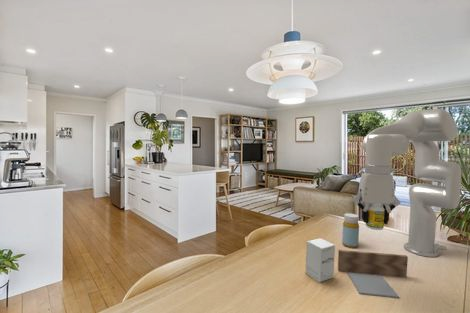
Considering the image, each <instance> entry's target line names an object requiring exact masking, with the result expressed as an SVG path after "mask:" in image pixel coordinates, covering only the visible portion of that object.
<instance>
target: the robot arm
mask: <svg viewBox="0 0 470 313" xmlns="http://www.w3.org/2000/svg"><path fill="white" fill-rule="evenodd" d="M458 131H459V130H458V125H457V123H456V121H455V120H454V118H453V117H452V115H451V114H450V113H449V112H448V111H447V110H445V109H443V108H429V109H421V110H420V109H419V110H413V111H410V112H408V113H407V114H406V115H404V116H403V117H402V118H400V119H399V120H398V121H395V122H392V123H389V124H386V125H382V126H380V127H377V128H375V129H373V130H371V131H370V132H369V133H367V134H366V136H365V137H364V138H363V140H362V144H361V146H362V150H363V151H364V152H365V160H364V161H365V165H364V172H363V173H361V176H360V180H359V186H358V191H357V194H356V195H355V196H354V197H352V201H351V202H354V204H356V205H357V206H358V208H360V210H361V220H362V221H363V222H364V224H366V223H368V218H369V212H368V211H367V210H368V207H369V205H370V204H375V203H379V204H382V207H383V208H384V210H385V211H384V225H388V222H389V220H390V213H392V211H393V210H394V209H395V208H396V207H398V206H399V205H401V201H400V200H399V199H398V198H397V197H396V195H395V182H394V177H393V175H392V173H393V172H396V168H395V167H393V166H392V156H395V157H396V156H402V155H404V154H406V153H407V152H408V150H409V148H410V143H411V144H412V145H413V147H414V152H415V153H414V172H413V173H414V177H415V179H417V180H419V181H423V182H424V181H425V182H432V183H439V184H441V183H442V184H444V185H438V184H429V183H423V182H422V183H419V182H417V183H414V184H412V185H410V186H409V188H408V197H409V209H410V210H409V226H408V242H406V243H404V244H403V248H404V249H405V250H406V251H408V252H410V253H412V254H414V255H418V256H422V257H426V258H428V257H429V258H436V257H438V256H439V250H442V251H446V250H447V246H446V245H444V244H443V245H441V244H439V243H437V242H435V239H436V228H437V227H436V225H437V215H436V212H435V210H434V209H433V208H432V207H434V208H435V207H436V208H441V209H446V210H455V209H457V208H458V206H459V205H460V201H461V199H460V198H461V185H462V168H461V165H459V163H457V162H456V161H455V162H453V161H446V160H445V161H444V160H440V147H438V145H437V144H436V143H435V142H451V141H453V140H454V139H455V138H456V137H457V135H458ZM359 200H360V201H362V202H360V201H359Z"/></svg>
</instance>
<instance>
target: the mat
mask: <svg viewBox="0 0 470 313" xmlns="http://www.w3.org/2000/svg"><path fill="white" fill-rule="evenodd" d="M347 275H348V277H349V279H350V280H351V282H352V284H353V286H354V287H355V288H356V291H357V293H358V294H359V295H365V296H374V297H375V296H376V297H384V298H385V297H386V298H396V299H400V296H399V295H398V293H397V292H396V290H394V289H393V286H392V287H391V285H390V284H389V282H388V281H387V280H386V279H385V278H384V275H374V274H363V273H353V272H347Z"/></svg>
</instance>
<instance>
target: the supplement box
mask: <svg viewBox="0 0 470 313" xmlns="http://www.w3.org/2000/svg"><path fill="white" fill-rule="evenodd" d="M305 248H306V250H305V252H306V253H305V273H306V274H307V275H308V276H309V277H311V278H312V279H314V280H315V281H317V282H318V283H322V282H324V281H326V280H330V279H332V278H334V273H335V270H334V269H335V254H336V253H335V251H336V244H334V243H332V242H329V241H328V240H325V239H323V238H321V237H319V238H316V239H312V240H307V241H306V247H305Z"/></svg>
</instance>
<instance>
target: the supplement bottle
mask: <svg viewBox="0 0 470 313" xmlns="http://www.w3.org/2000/svg"><path fill="white" fill-rule="evenodd" d="M367 211H368V212H369V218H368V223H365V227H366V228H368V229H370V230H374V231H382V230H384V225H385V224H384V211H385V210H384V208H383V206H382V204H379V203H375V204H370V205H369V207H368V210H367Z"/></svg>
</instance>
